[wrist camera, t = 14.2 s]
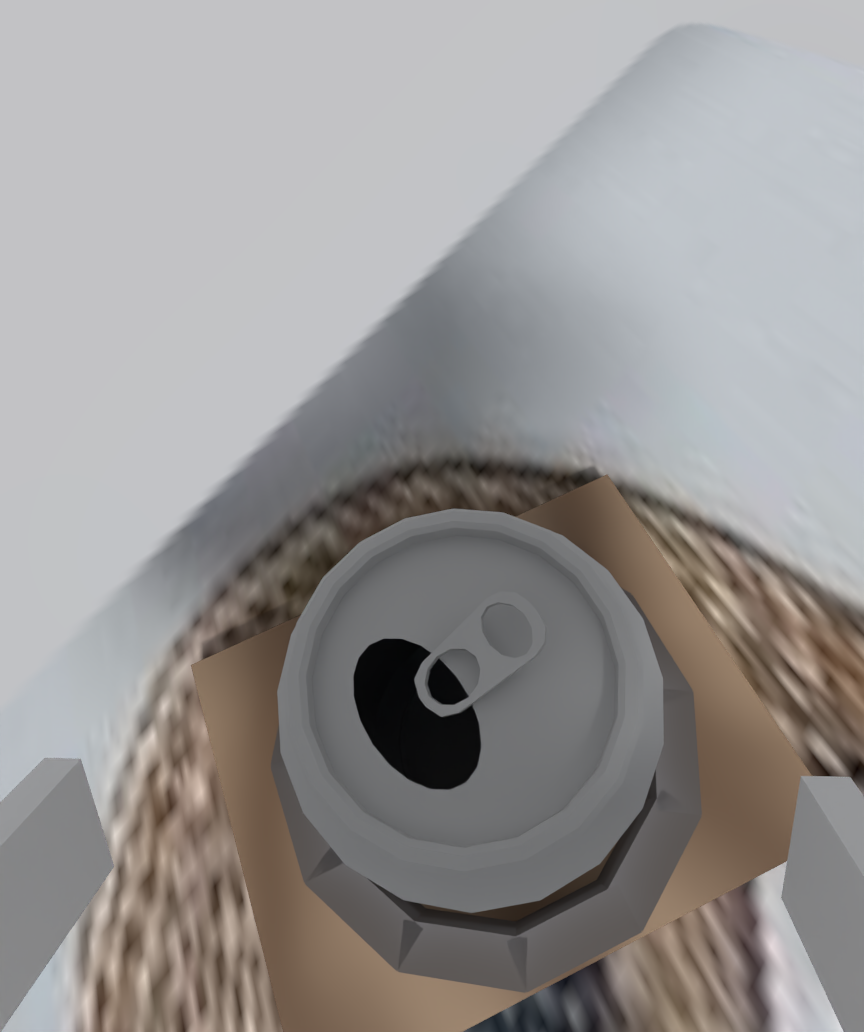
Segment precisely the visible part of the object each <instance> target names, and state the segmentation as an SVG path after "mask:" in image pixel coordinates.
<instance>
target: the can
mask: <svg viewBox="0 0 864 1032" xmlns="http://www.w3.org/2000/svg"><path fill="white" fill-rule="evenodd" d="M277 696H278V714H279V732H280V751H281V755H282V758H283V761H284V763H285V766H286V768H287V771H288V774H289V776H290V779H291V782H292V784H293V787H294V790H295V792H296V795H297V798H298V800H299V803H300V806H301V808H302V811H303V813H304V815H305V816H306V817H307V818H308V819H309V821H310V822H311V823H312V824H313V826H314V827H315V828H316V829H317V831H318V832H319V833H320V834H321V835H322V837H323V838H324V839H325V840H326V842H327V843H328V844H329V845H330V847H331V848H332V849H333V850H334V851H335V853H336V854H337V855H338V856H339V858H340V859H341V860H342V861H343V863H344V864H345V865H347V866H348V867H350V868H352V869H353V870H355V871H356V872H358V873H360V874H361V875H363V876H365V877H366V878H368V879H370V880H371V881H373V882H374V883H376V884H378V885H379V886H381V887H383V888H384V889H386V890H388V891H389V892H391V893H393V894H394V895H396V896H397V897H399V898H401V899H402V900H405V901H411V902H416V903H421V904H426V905H432V906H437V907H442V908H447V909H453V910H458V911H463V912H468V913H475V912H480V911H486V910H491V909H497V908H502V907H508V906H513V905H518V904H524V903H529V902H535V901H540V900H542V899H544V898H545V897H547V896H548V895H550V894H552V893H553V892H555V891H557V890H558V889H560V888H561V887H563V886H565V885H566V884H568V883H570V882H571V881H573V880H574V879H576V878H578V877H579V876H581V875H583V874H584V873H586V872H587V871H589V870H591V869H592V868H594V867H596V866H597V865H599V864H600V863H601V862H602V861H603V859H604V858H605V857H606V855H607V854H608V853H609V852H610V850H611V849H612V848H613V846H614V845H615V844H616V843H617V841H618V840H619V839H620V837H621V836H622V835H623V833H624V832H625V831H626V830H627V828H628V827H629V826H630V824H631V823H632V822H633V821H634V819H635V818H636V817H637V815H638V814H639V813H640V812H641V810H642V809H643V806H644V803H645V800H646V797H647V794H648V791H649V788H650V785H651V782H652V779H653V776H654V773H655V769H656V766H657V763H658V760H659V757H660V754H661V751H662V748H663V745H664V719H663V677H662V674H661V671H660V668H659V665H658V662H657V659H656V656H655V653H654V650H653V647H652V644H651V641H650V638H649V635H648V632H647V629H646V626H645V623H644V620H643V618H642V617H641V615H640V614H639V612H638V611H637V610H636V608H635V607H634V605H633V604H632V603H631V601H630V600H629V598H628V597H627V596H626V594H625V593H624V592H623V590H622V589H621V587H620V586H619V585H618V583H617V582H616V580H615V579H614V578H613V576H612V575H611V573H610V572H609V571H608V570H607V569H606V568H605V567H603V566H602V565H601V564H599V563H598V562H597V561H595V560H594V559H593V558H592V557H590V556H589V555H588V554H586V553H585V552H584V551H582V550H581V549H580V548H578V547H577V546H576V545H575V544H573V543H572V542H571V541H569V540H568V539H567V538H565V537H564V536H563V535H560V534H557V533H555V532H552V531H551V530H548V529H545V528H543V527H540V526H538V525H535V524H532V523H530V522H527V521H525V520H522V519H519V518H517V517H514V516H511V515H509V514H506V513H504V512H491V511H479V510H466V509H448V510H444V511H439V512H434V513H429V514H424V515H419V516H414V517H410V518H405V519H403V520H401V521H399V522H397V523H395V524H393V525H391V526H389V527H387V528H386V529H384V530H382V531H380V532H378V533H376V534H374V535H372V536H370V537H368V538H366V539H365V540H363V541H361V542H359V543H358V544H357V545H356V546H355V547H354V548H353V549H352V550H351V551H350V552H349V553H348V554H347V555H346V556H345V557H344V558H343V559H342V560H341V561H339V562H338V563H337V564H336V565H335V566H334V567H333V568H332V569H331V570H330V571H329V572H328V573H327V574H326V575H325V576H324V577H323V578H322V580H321V581H320V583H319V585H318V587H317V588H316V590H315V592H314V594H313V595H312V597H311V599H310V600H309V602H308V604H307V606H306V607H305V609H304V611H303V613H302V614H301V616H300V618H299V619H298V621H297V623H296V627H295V628H294V630H293V632H292V634H291V637H290V641H289V645H288V649H287V653H286V658H285V662H284V666H283V670H282V674H281V678H280V682H279V686H278V690H277Z"/></svg>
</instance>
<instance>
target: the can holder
mask: <svg viewBox="0 0 864 1032" xmlns="http://www.w3.org/2000/svg"><path fill="white" fill-rule="evenodd" d="M515 517H517V518H519V519H522V520H525V521H527V522H530V523H532V524H535V525H538V526H540V527H543V528H545V529H548V530H551V531H552V532H555V533H557V534H560V535H563V536H564V537H565V538H567V539H568V540H569V541H571V542H572V543H573V544H575V545H576V546H577V547H578V548H580V549H581V550H582V551H584V552H585V553H586V554H588V555H589V556H590V557H592V558H593V559H594V560H595V561H597V562H598V563H599V564H601V565H602V566H603V567H605V568H606V569H607V570H608V571H609V572H610V573H611V575H612V576H613V578H614V579H615V580H616V582H617V583H618V585H619V586H620V587H621V589H622V590H623V592H624V593H625V594H626V596H627V597H628V598H629V600H630V601H631V603H632V604H633V605H634V607H635V608H636V610H637V611H638V612H639V614H640V615H641V617H642V618H643V620H644V623H645V626H646V629H647V632H648V635H649V638H650V641H651V644H652V647H653V650H654V653H655V656H656V659H657V662H658V665H659V668H660V671H661V674H662V677H663V719H664V745H663V748H662V751H661V754H660V757H659V760H658V763H657V766H656V769H655V773H654V776H653V779H652V782H651V785H650V788H649V791H648V794H647V797H646V800H645V803H644V806H643V809H642V810H641V812H640V813H639V814H638V815H637V817H636V818H635V819H634V821H633V822H632V823H631V824H630V826H629V827H628V828H627V830H626V831H625V832H624V833H623V835H622V836H621V837H620V839H619V840H618V841H617V843H616V844H615V845H614V846H613V848H612V849H611V850H610V852H609V853H608V854H607V855H606V857H605V858H604V859H603V861H602V862H601V863H600V864H599V865H597V866H596V867H594V868H592V869H591V870H589V871H587V872H586V873H584V874H583V875H581V876H579V877H578V878H576V879H574V880H573V881H571V882H570V883H568V884H566V885H565V886H563V887H561V888H560V889H558V890H557V891H555V892H553V893H552V894H550V895H548V896H547V897H545V898H544V899H542V900H540V901H535V902H529V903H524V904H518V905H513V906H508V907H502V908H497V909H491V910H486V911H480V912H475V913H468V912H463V911H458V910H453V909H447V908H442V907H437V906H432V905H426V904H421V903H416V902H411V901H405V900H402V899H401V898H399V897H397V896H396V895H394V894H393V893H391V892H389V891H388V890H386V889H384V888H383V887H381V886H379V885H378V884H376V883H374V882H373V881H371V880H370V879H368V878H366V877H365V876H363V875H361V874H360V873H358V872H356V871H355V870H353V869H352V868H350V867H348V866H347V865H345V864H344V863H343V861H342V860H341V859H340V858H339V856H338V855H337V854H336V853H335V851H334V850H333V849H332V848H331V847H330V845H329V844H328V843H327V842H326V840H325V839H324V838H323V837H322V835H321V834H320V833H319V832H318V831H317V829H316V828H315V827H314V826H313V824H312V823H311V822H310V821H309V819H308V818H307V817H306V816H305V815H304V813H303V811H302V808H301V806H300V803H299V800H298V798H297V795H296V792H295V790H294V787H293V784H292V782H291V779H290V776H289V774H288V771H287V768H286V766H285V763H284V761H283V758H282V755H281V751H280V732H279V714H278V696H277V690H278V686H279V682H280V678H281V674H282V670H283V666H284V662H285V658H286V653H287V649H288V645H289V641H290V637H291V634H292V632H293V630H294V628H295V627H296V623H297V621H298V619H299V618H300V616H301V615H299V616H297V617H295V618H293V619H290V620H288V621H286V622H284V623H282V624H280V625H277V626H275V627H273V628H271V629H269V630H266V631H264V632H262V633H260V634H258V635H256V636H253V637H251V638H249V639H247V640H245V641H242V642H240V643H238V644H236V645H234V646H232V647H229V648H227V649H225V650H223V651H221V652H218V653H216V654H214V655H212V656H210V657H207V658H205V659H203V660H201V661H199V662H197V663H194V664H192V665H191V667H192V671H193V675H194V679H195V683H196V687H197V691H198V695H199V699H200V703H201V707H202V711H203V715H204V719H205V723H206V727H207V731H208V735H209V739H210V743H211V747H212V751H213V755H214V759H215V762H216V766H217V770H218V774H219V778H220V782H221V786H222V790H223V794H224V798H225V802H226V806H227V810H228V814H229V818H230V822H231V826H232V830H233V834H234V838H235V842H236V846H237V850H238V854H239V858H240V862H241V866H242V870H243V874H244V878H245V882H246V886H247V890H248V894H249V898H250V902H251V906H252V910H253V914H254V918H255V922H256V926H257V930H258V933H259V937H260V941H261V945H262V949H263V953H264V957H265V961H266V965H267V969H268V973H269V977H270V981H271V985H272V989H273V993H274V997H275V1001H276V1005H277V1009H278V1013H279V1017H280V1021H281V1025H282V1029H283V1032H462V1031H464V1030H466V1029H468V1028H470V1027H472V1026H474V1025H476V1024H478V1023H480V1022H482V1021H483V1020H485V1019H487V1018H489V1017H491V1016H493V1015H495V1014H497V1013H499V1012H501V1011H502V1010H504V1009H506V1008H508V1007H510V1006H512V1005H514V1004H516V1003H518V1002H520V1001H521V1000H523V999H525V998H527V997H529V996H531V995H533V994H535V993H537V992H539V991H541V990H542V989H544V988H546V987H548V986H550V985H552V984H554V983H556V982H558V981H560V980H561V979H563V978H565V977H567V976H569V975H571V974H573V973H575V972H577V971H579V970H580V969H582V968H584V967H586V966H588V965H590V964H592V963H594V962H596V961H598V960H600V959H601V958H603V957H605V956H607V955H609V954H611V953H613V952H615V951H617V950H619V949H620V948H622V947H624V946H626V945H628V944H630V943H632V942H634V941H636V940H638V939H639V938H641V937H643V936H645V935H647V934H649V933H651V932H653V931H655V930H657V929H659V928H660V927H662V926H664V925H666V924H668V923H670V922H672V921H674V920H676V919H678V918H679V917H681V916H683V915H685V914H687V913H689V912H691V911H693V910H695V909H697V908H698V907H700V906H702V905H704V904H706V903H708V902H710V901H712V900H714V899H716V898H718V897H719V896H721V895H723V894H725V893H727V892H729V891H731V890H733V889H735V888H737V887H738V886H740V885H742V884H744V883H746V882H748V881H750V880H752V879H754V878H756V877H757V876H759V875H761V874H763V873H765V872H767V871H769V870H771V869H773V868H775V867H777V866H778V865H780V864H782V863H784V862H786V861H787V859H788V853H789V847H790V841H791V834H792V828H793V822H794V816H795V810H796V803H797V797H798V791H799V785H800V778H801V776H812V775H811V774H810V772H809V771H808V769H807V768H806V766H805V765H804V764H803V762H802V761H801V759H800V758H799V756H798V755H797V753H796V752H795V750H794V749H793V747H792V746H791V744H790V743H789V741H788V740H787V738H786V737H785V736H784V734H783V733H782V731H781V730H780V728H779V727H778V725H777V724H776V722H775V721H774V719H773V718H772V716H771V715H770V713H769V712H768V710H767V709H766V708H765V706H764V705H763V703H762V702H761V700H760V699H759V697H758V696H757V694H756V693H755V691H754V690H753V688H752V687H751V685H750V684H749V683H748V681H747V680H746V678H745V677H744V675H743V674H742V672H741V671H740V669H739V668H738V666H737V665H736V663H735V662H734V660H733V659H732V657H731V656H730V655H729V653H728V652H727V650H726V649H725V647H724V646H723V644H722V643H721V641H720V640H719V638H718V637H717V635H716V634H715V632H714V631H713V629H712V628H711V627H710V625H709V624H708V622H707V621H706V619H705V618H704V616H703V615H702V613H701V612H700V610H699V609H698V607H697V606H696V604H695V603H694V602H693V600H692V599H691V597H690V596H689V594H688V593H687V591H686V590H685V588H684V587H683V585H682V584H681V582H680V581H679V579H678V578H677V576H676V575H675V574H674V572H673V571H672V569H671V568H670V566H669V565H668V563H667V562H666V560H665V559H664V557H663V556H662V554H661V553H660V551H659V550H658V549H657V547H656V546H655V544H654V543H653V541H652V540H651V538H650V537H649V535H648V534H647V532H646V531H645V529H644V528H643V526H642V525H641V523H640V522H639V521H638V519H637V518H636V516H635V515H634V513H633V512H632V510H631V509H630V507H629V506H628V504H627V503H626V501H625V500H624V498H623V497H622V495H621V494H620V493H619V491H618V490H617V488H616V487H615V485H614V484H613V482H612V481H611V479H610V478H609V476H608V475H605V476H603V477H601V478H598V479H596V480H594V481H592V482H590V483H587V484H585V485H583V486H581V487H579V488H577V489H574V490H572V491H570V492H568V493H566V494H563V495H561V496H559V497H557V498H555V499H552V500H550V501H548V502H546V503H544V504H542V505H539V506H537V507H535V508H533V509H531V510H528V511H526V512H524V513H522V514H520V515H518V516H515Z"/></svg>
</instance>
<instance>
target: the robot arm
mask: <svg viewBox="0 0 864 1032" xmlns="http://www.w3.org/2000/svg"><path fill="white" fill-rule="evenodd" d="M113 867H114V864H113V861H112V858H111V855H110V851H109V848H108V845H107V842H106V839H105V835H104V832H103V829H102V826H101V822H100V819H99V816H98V813H97V810H96V806H95V803H94V800H93V797H92V793H91V790H90V787H89V784H88V781H87V777H86V774H85V771H84V768H83V765H82V761H81V759H65V758H44V759H43V760H42V761H41V762H40V763H39V764H38V765H37V766H36V767H35V768H34V769H33V770H32V771H31V772H30V773H29V774H28V775H27V776H26V777H25V778H24V779H23V780H22V781H21V782H20V783H19V784H18V785H17V786H16V787H15V788H14V789H13V790H12V791H11V792H10V793H9V794H8V795H7V796H6V797H5V798H4V799H3V800H2V801H1V802H0V1032H1V1031H2V1029H3V1028H4V1026H5V1025H6V1024H7V1022H8V1021H9V1019H10V1018H11V1016H12V1015H13V1013H14V1012H15V1010H16V1009H17V1007H18V1006H19V1005H20V1003H21V1002H22V1000H23V999H24V997H25V996H26V994H27V993H28V991H29V990H30V988H31V987H32V986H33V984H34V983H35V981H36V980H37V978H38V977H39V975H40V974H41V972H42V971H43V969H44V968H45V967H46V965H47V964H48V962H49V961H50V959H51V958H52V956H53V955H54V953H55V952H56V950H57V949H58V948H59V946H60V945H61V943H62V942H63V940H64V939H65V937H66V936H67V934H68V933H69V931H70V930H71V929H72V927H73V926H74V924H75V923H76V921H77V920H78V918H79V917H80V915H81V914H82V912H83V911H84V910H85V908H86V907H87V905H88V904H89V902H90V901H91V899H92V898H93V896H94V895H95V893H96V892H97V891H98V889H99V888H100V886H101V885H102V883H103V882H104V880H105V879H106V877H107V876H108V874H109V873H110V872H111V870H112V869H113ZM781 898H782V900H783V902H784V904H785V906H786V909H787V911H788V913H789V915H790V917H791V919H792V921H793V924H794V926H795V928H796V930H797V932H798V934H799V937H800V939H801V941H802V943H803V945H804V947H805V949H806V952H807V954H808V956H809V958H810V960H811V962H812V965H813V967H814V969H815V971H816V973H817V975H818V977H819V980H820V982H821V984H822V986H823V988H824V990H825V992H826V995H827V997H828V999H829V1001H830V1003H831V1005H832V1008H833V1010H834V1012H835V1014H836V1016H837V1018H838V1020H839V1023H840V1025H841V1027H842V1029H843V1031H844V1032H864V796H863V794H862V793H861V792H860V790H859V789H858V787H857V786H856V785H855V783H854V782H853V781H852V779H851V778H850V777H825V776H801V778H800V785H799V791H798V797H797V803H796V810H795V816H794V822H793V828H792V834H791V841H790V847H789V853H788V859H787V866H786V872H785V878H784V884H783V891H782V897H781Z"/></svg>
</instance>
